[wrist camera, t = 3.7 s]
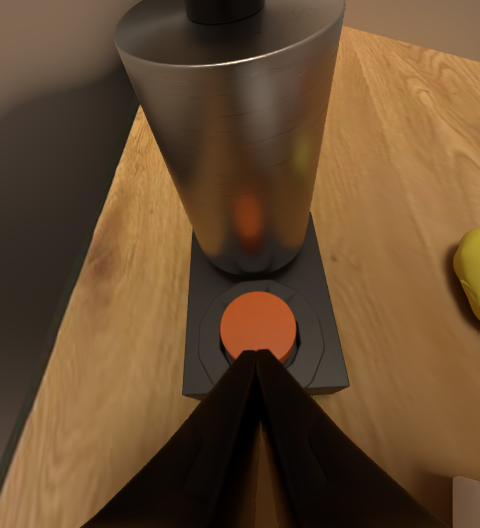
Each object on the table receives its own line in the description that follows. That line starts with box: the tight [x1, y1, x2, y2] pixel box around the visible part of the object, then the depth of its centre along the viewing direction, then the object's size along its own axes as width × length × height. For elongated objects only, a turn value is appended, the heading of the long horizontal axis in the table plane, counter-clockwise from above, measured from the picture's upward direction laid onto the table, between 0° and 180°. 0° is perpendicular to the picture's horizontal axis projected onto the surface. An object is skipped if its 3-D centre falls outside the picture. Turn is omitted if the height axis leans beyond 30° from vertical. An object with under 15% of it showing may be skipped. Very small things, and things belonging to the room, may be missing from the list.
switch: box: [220, 291, 296, 364], centre depth 14 cm, size 4×4×2 cm
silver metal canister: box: [114, 0, 346, 276], centre depth 12 cm, size 7×7×12 cm
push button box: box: [182, 212, 350, 400], centre depth 18 cm, size 13×9×6 cm
